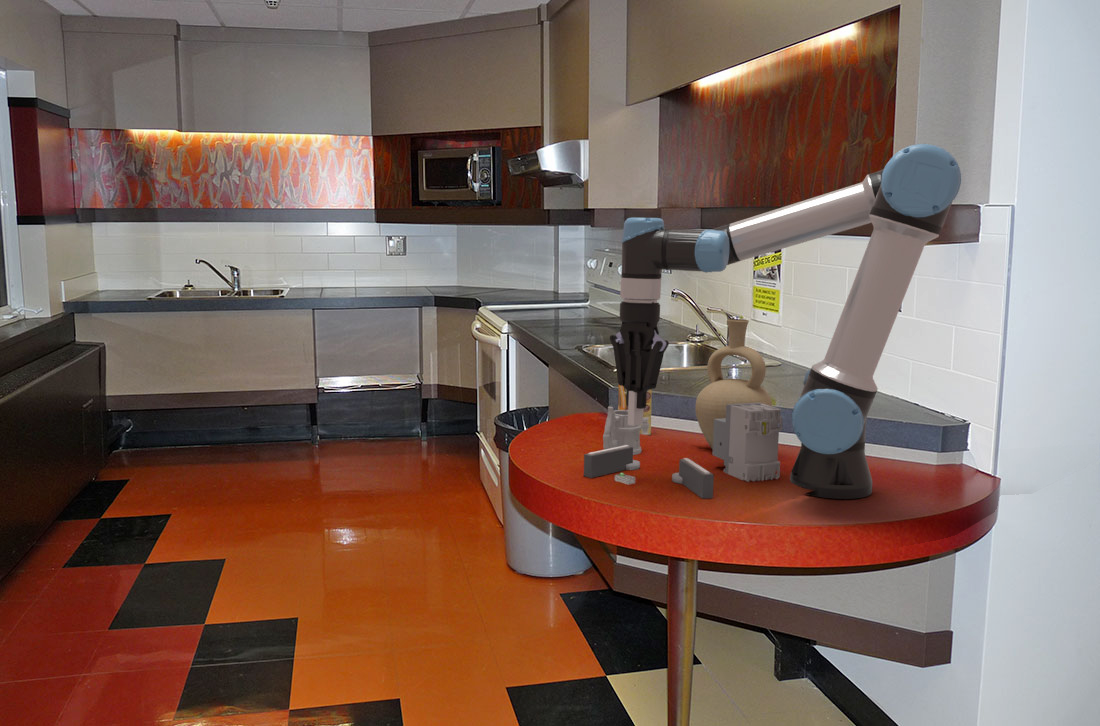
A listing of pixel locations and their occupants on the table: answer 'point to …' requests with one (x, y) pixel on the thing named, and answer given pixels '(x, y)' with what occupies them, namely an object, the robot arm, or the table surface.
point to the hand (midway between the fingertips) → (635, 424)
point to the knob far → (609, 461)
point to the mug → (621, 431)
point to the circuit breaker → (749, 441)
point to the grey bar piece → (694, 478)
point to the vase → (730, 381)
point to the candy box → (646, 411)
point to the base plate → (624, 478)
